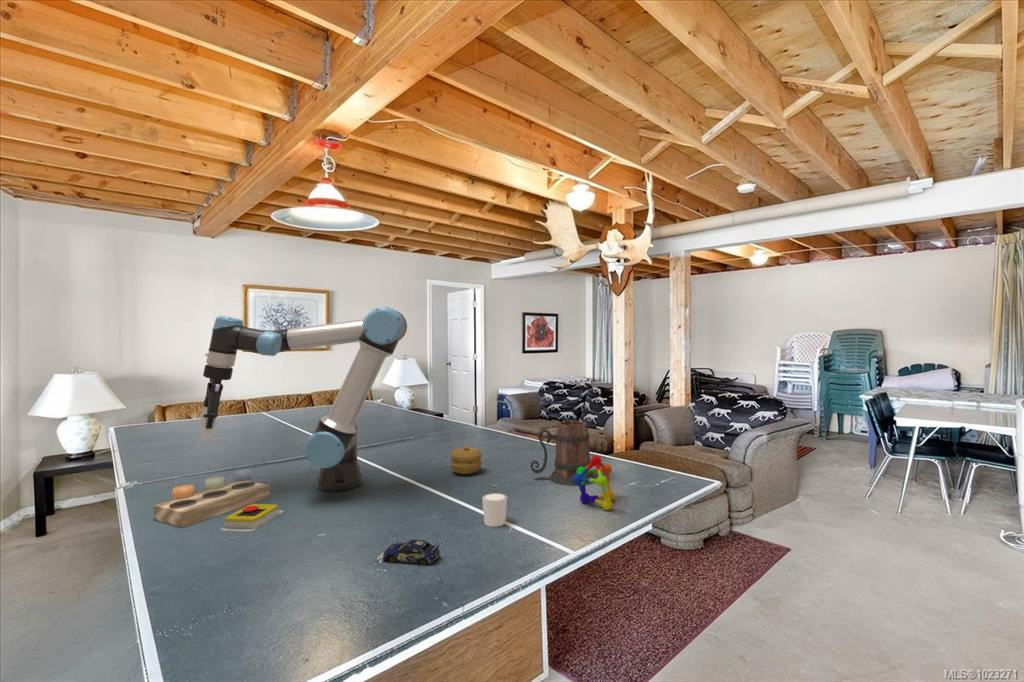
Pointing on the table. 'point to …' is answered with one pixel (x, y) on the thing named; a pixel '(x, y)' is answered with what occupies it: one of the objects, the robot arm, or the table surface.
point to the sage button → (214, 483)
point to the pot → (466, 460)
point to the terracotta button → (183, 492)
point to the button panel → (210, 503)
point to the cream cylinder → (494, 509)
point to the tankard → (567, 452)
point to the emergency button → (251, 517)
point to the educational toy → (601, 481)
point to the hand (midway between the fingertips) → (205, 432)
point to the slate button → (243, 475)
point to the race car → (411, 552)
